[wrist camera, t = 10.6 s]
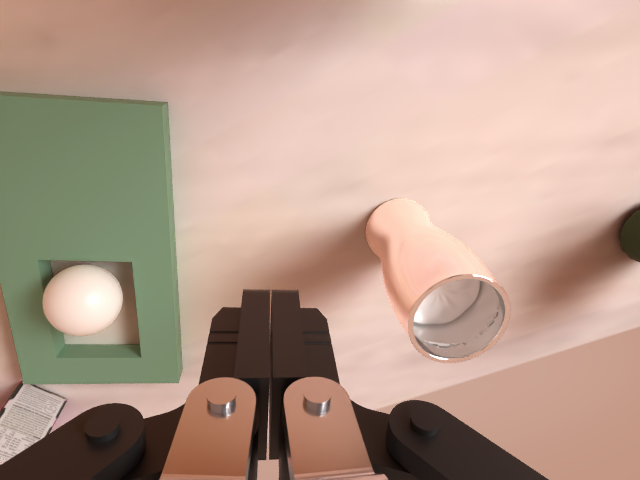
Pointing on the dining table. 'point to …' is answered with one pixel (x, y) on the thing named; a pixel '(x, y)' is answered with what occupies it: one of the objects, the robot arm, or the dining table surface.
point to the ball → (82, 300)
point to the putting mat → (88, 228)
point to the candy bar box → (27, 418)
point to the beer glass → (436, 284)
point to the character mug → (631, 236)
